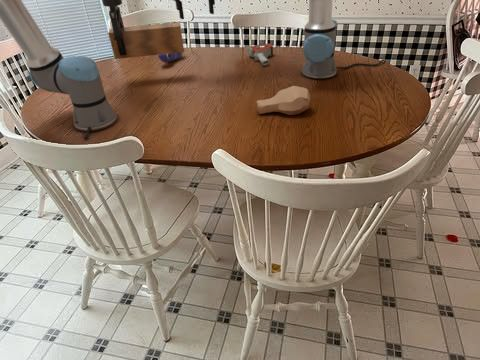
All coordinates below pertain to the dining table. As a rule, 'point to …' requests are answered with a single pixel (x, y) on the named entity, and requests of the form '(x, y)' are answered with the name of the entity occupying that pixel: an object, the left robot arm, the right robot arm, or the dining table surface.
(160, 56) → the toy
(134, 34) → the box
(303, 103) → the squash
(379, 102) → the dining table surface
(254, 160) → the dining table surface
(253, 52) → the tape dispenser
